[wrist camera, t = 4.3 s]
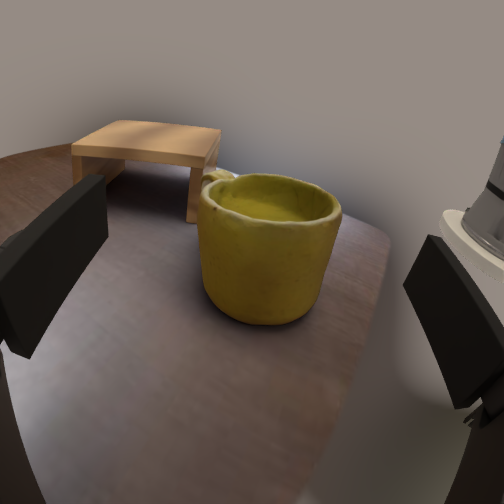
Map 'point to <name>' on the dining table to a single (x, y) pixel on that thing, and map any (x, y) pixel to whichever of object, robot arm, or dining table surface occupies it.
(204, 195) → the mug
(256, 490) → the dining table surface
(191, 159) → the shelf
